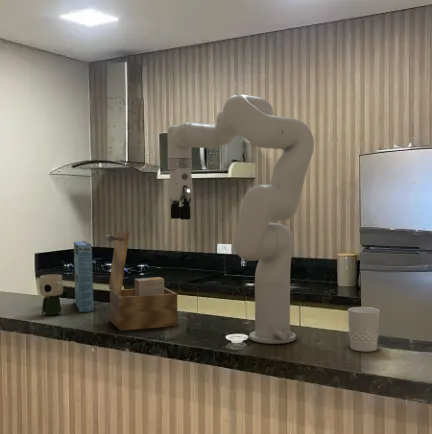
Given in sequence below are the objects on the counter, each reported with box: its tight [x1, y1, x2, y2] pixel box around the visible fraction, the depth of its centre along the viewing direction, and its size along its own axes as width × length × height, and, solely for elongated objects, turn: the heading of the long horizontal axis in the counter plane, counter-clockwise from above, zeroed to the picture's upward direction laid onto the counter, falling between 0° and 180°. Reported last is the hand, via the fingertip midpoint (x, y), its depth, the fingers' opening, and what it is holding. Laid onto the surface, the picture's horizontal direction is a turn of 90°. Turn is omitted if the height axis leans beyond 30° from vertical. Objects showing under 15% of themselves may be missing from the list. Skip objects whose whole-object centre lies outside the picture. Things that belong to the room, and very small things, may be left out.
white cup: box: [347, 306, 381, 353], centre depth 153 cm, size 8×8×10 cm
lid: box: [104, 229, 130, 296], centre depth 180 cm, size 19×15×5 cm
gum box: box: [73, 240, 94, 313], centre depth 212 cm, size 19×5×23 cm, turn 17°
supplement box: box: [134, 276, 165, 296], centre depth 185 cm, size 8×5×13 cm, turn 115°
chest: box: [109, 286, 178, 332], centre depth 184 cm, size 18×15×10 cm
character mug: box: [39, 274, 64, 316], centre depth 199 cm, size 11×7×13 cm, turn 56°
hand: (180, 219), depth 190 cm, fingers open, 9 cm apart
